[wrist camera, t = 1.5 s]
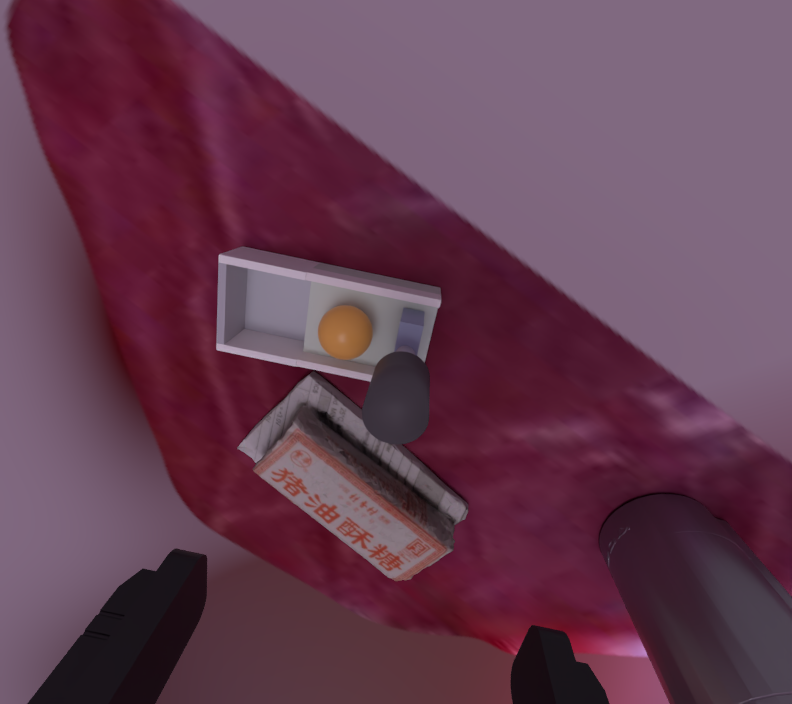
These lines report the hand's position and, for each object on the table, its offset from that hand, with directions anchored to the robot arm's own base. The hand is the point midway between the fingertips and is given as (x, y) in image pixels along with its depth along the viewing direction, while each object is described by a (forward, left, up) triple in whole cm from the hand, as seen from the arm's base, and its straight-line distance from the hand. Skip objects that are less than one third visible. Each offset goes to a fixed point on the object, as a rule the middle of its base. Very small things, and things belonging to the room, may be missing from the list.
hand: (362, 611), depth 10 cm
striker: (0, 0, -19) cm, 19 cm away
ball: (+4, 0, -18) cm, 18 cm away
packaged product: (+2, +14, -22) cm, 26 cm away
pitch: (+3, 0, -22) cm, 22 cm away
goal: (+10, 0, -22) cm, 24 cm away
